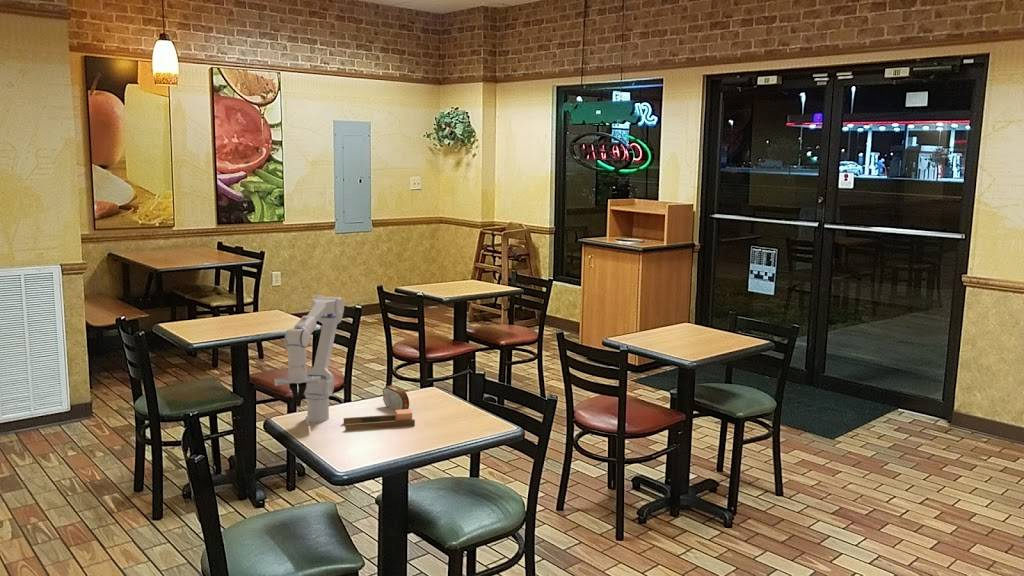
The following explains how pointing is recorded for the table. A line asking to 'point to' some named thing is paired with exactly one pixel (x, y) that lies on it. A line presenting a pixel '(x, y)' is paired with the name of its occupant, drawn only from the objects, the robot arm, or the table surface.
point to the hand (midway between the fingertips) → (298, 405)
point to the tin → (395, 398)
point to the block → (403, 414)
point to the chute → (375, 422)
